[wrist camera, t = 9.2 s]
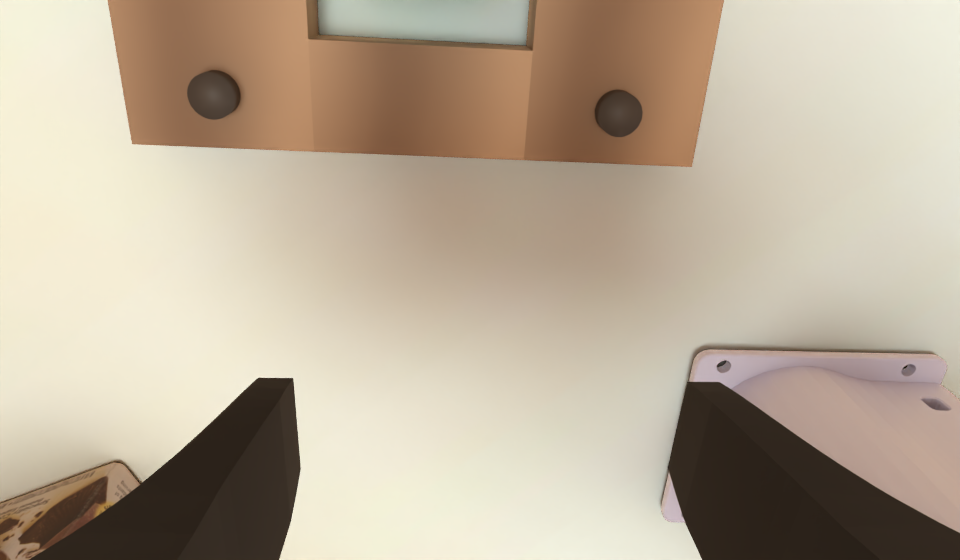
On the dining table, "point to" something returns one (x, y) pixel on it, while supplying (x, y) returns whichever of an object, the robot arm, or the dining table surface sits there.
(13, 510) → the coffee box
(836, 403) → the robot arm
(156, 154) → the dining table surface
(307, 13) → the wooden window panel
